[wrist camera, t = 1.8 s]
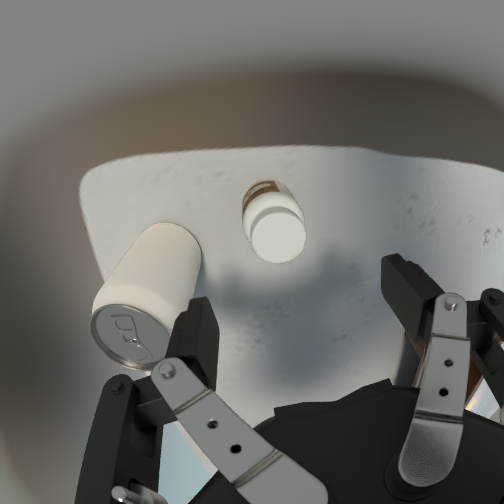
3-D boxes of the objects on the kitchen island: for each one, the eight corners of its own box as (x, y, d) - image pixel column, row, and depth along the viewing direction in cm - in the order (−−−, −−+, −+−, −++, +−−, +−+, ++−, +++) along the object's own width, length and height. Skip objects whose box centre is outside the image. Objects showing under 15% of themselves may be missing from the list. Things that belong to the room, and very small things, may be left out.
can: (146, 284, 27) (106, 373, 17) (129, 225, 24) (67, 300, 14) (207, 279, 27) (191, 376, 17) (195, 216, 24) (164, 295, 14)
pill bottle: (261, 168, 23) (271, 190, 16) (302, 197, 24) (327, 230, 17) (232, 209, 24) (229, 248, 17) (272, 235, 26) (284, 281, 19)
